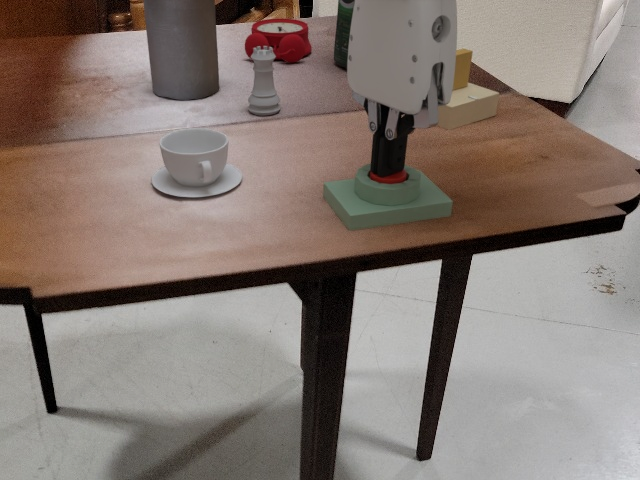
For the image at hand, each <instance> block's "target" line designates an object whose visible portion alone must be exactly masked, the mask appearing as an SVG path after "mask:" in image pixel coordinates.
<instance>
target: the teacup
mask: <svg viewBox="0 0 640 480" xmlns="http://www.w3.org/2000/svg"><path fill="white" fill-rule="evenodd" d="M229 141H230V140H229V137H228V135H226V134H225V133H223V131H219V130H216V129H212V128H206V127H189V128H188V127H187V128H181V129H177V130H174V131H171V132H168V133H166V134H164V135H163V136H162V137H160V139H159V142H158V144H159V145H158V146H159V149H160V154H161V158H162V162H163V165H164V166H162V167H160V168H159V169H158V170H156V171H155V172H154V173H153V175H152V176H151V184H152V186H153V187H154V188H155V189H156V190H158V191H160V192H162V193H164V194H167V195H170V196H174V197H181V198H204V197H205V198H206V197H212V196H217V195H219V194H224V193H226V192H228V191H230V190H232V189H234V188H235V187H237V186H238V185H239V184H240V183H241V181H242V180H243V174H242V171H241V170H240V169H239V168H238V167H236V166H235V165H234V164H231V163H228V156H229V155H228V154H229Z"/></svg>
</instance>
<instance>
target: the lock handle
mask: <svg viewBox="0 0 640 480" xmlns="http://www.w3.org/2000/svg"><path fill="white" fill-rule="evenodd" d="M472 58H473V50H471V49H467V48H460V49H456V62H455V74H454V83H453V90H456V89H459V88H463V87H466V86H468V83H469V79H470V72H471V66H472V60H473V59H472Z"/></svg>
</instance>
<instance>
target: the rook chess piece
mask: <svg viewBox="0 0 640 480" xmlns="http://www.w3.org/2000/svg"><path fill="white" fill-rule="evenodd" d="M275 57H276V56H275V54H274V53H273V49H272V47H269V50H267V46H264V50H261V47H260V46H258V47H257V50H256V48H253V54H252V55H251V58H252V59H251V60H252V61H253V62H254V66H253V67H252V70H253V71H254V72H253V73H254V78H253V86H252V90H251V91H250V93H251V94H250V95H249V96H248V99H247V102H248V104H249V105H248V106H247V109H248V111H249V112H250V113H251V114H253V115H254V116H260V117H261V116H262V117H265V116H273V115H275V114H277V113H278V112H279V111H280V109H281V105H280V104H279V103H280V102H281V99H280V96H279V94H277V93H278V92H277V90H276V88H275V82H274V70H275V67H274V65H273V62H274V61H275V60H276V59H275Z"/></svg>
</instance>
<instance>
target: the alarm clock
mask: <svg viewBox="0 0 640 480" xmlns="http://www.w3.org/2000/svg"><path fill="white" fill-rule="evenodd" d="M250 29H251V34H249V35H248V36H247V37H246V39H245V41H244V51H245V54H246V55H247V57H248V59H250V60H252V58H251V55H252V54H253V48H256V50H257V47H258V46H260V47H261V50H264V46H267V50H269V47H272V49H273V53H274V54H275V56H276V57H275V59H274V60H282V61H284V62H285V63H290V64H293V63H298V62H299V61H301V60H302V59H303V57H305V56H307V55H309V54H311V52H312V50H313V47H312V44H311V42H310V39H309V25H308V23H306V22H304V21H302V20H298V19H293V18H268V19H261V20H258V21H256V22H254V23H252V25H251V28H250Z"/></svg>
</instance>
